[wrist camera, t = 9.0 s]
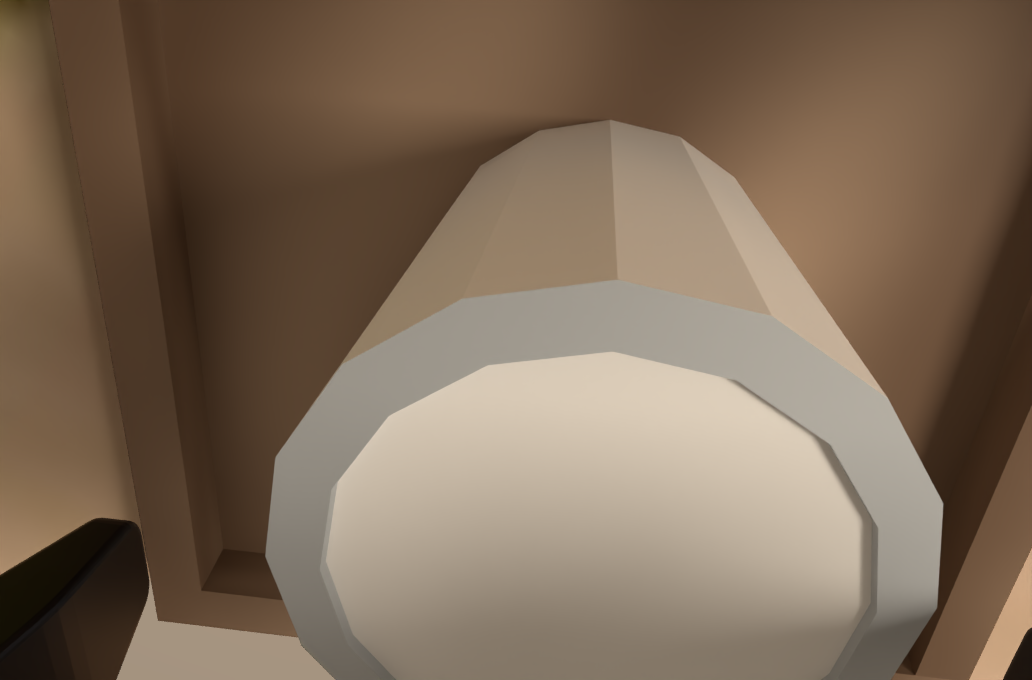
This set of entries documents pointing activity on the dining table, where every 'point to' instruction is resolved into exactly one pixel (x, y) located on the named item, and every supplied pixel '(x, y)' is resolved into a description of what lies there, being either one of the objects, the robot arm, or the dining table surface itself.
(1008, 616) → the dining table surface
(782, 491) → the shot glass
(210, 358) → the walnut tray
